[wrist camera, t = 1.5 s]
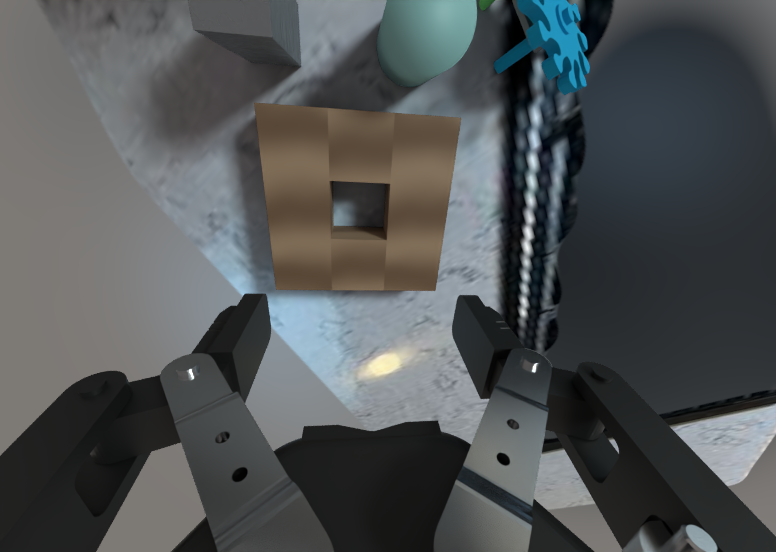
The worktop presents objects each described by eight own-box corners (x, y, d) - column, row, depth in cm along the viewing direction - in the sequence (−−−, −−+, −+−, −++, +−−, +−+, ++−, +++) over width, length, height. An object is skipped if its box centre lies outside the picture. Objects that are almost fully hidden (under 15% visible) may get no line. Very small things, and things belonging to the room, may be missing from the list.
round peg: (378, 0, 24) (388, -51, 17) (447, 8, 25) (485, -38, 17) (375, 84, 26) (382, 70, 19) (438, 89, 27) (467, 78, 20)
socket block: (267, 105, 26) (254, 102, 23) (447, 118, 28) (461, 117, 25) (284, 271, 33) (276, 289, 30) (427, 273, 35) (435, 290, 32)
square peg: (243, -2, 23) (174, -78, 14) (297, 4, 24) (263, -66, 15) (250, 62, 25) (193, 29, 16) (301, 66, 25) (272, 37, 16)
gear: (606, 67, 26) (578, 101, 21) (537, 105, 31) (499, 141, 25) (559, -81, 23) (510, -87, 17) (489, -13, 27) (434, -1, 22)
